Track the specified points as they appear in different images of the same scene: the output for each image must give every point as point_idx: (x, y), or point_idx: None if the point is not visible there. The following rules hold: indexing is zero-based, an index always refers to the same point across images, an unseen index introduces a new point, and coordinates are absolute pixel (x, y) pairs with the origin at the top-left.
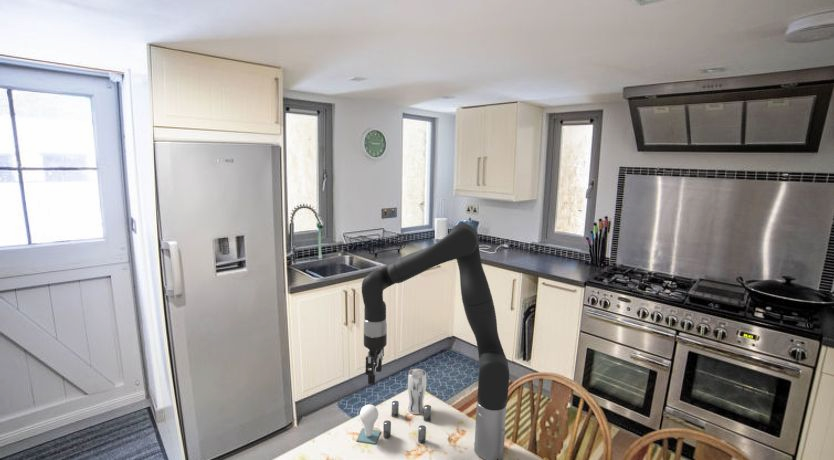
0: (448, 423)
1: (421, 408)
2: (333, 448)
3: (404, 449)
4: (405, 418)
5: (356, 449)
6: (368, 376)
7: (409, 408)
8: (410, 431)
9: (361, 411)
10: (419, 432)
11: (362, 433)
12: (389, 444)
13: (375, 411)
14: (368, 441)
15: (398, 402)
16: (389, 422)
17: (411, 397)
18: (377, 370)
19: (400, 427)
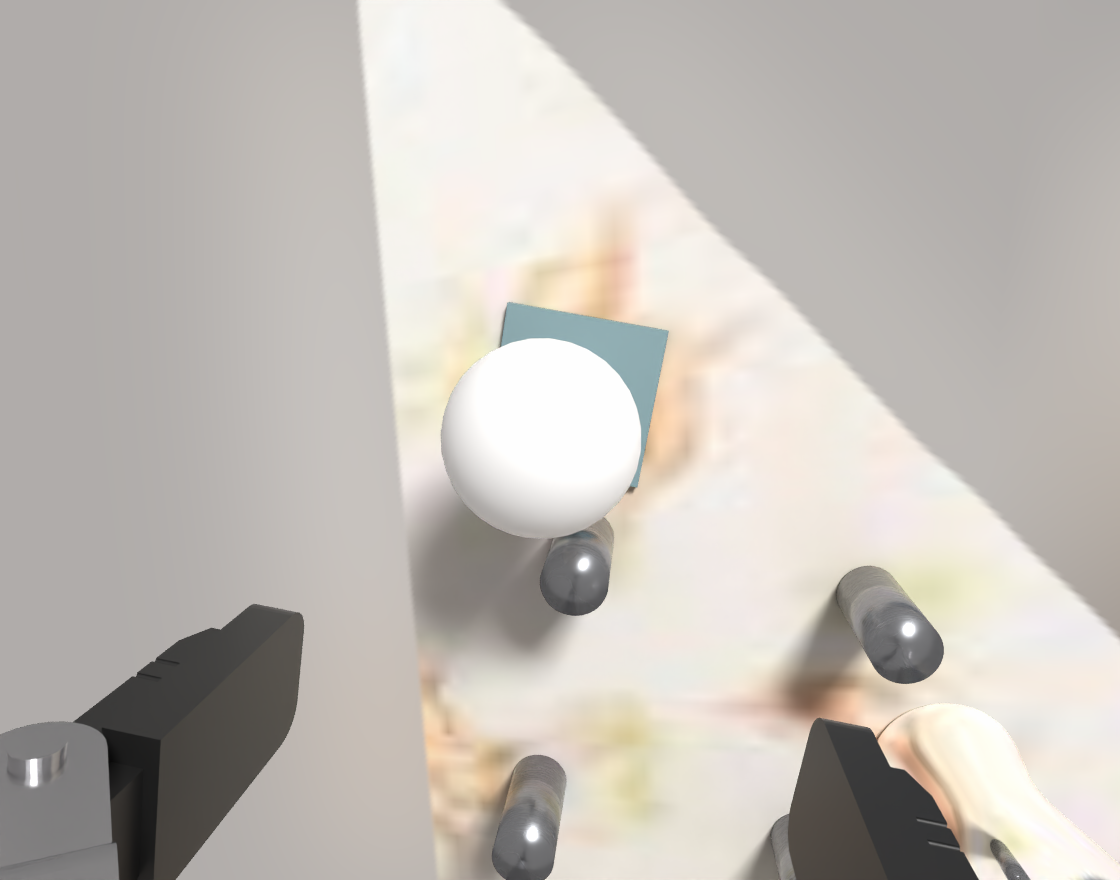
0: None
1: None
2: (414, 124)
3: (447, 661)
4: (818, 677)
5: (419, 316)
6: (150, 695)
7: (924, 729)
8: (648, 708)
9: (500, 366)
10: (506, 817)
11: (594, 341)
12: (492, 559)
13: (499, 525)
14: None
15: (910, 681)
16: (579, 602)
17: (947, 825)
18: (809, 774)
19: (697, 637)
